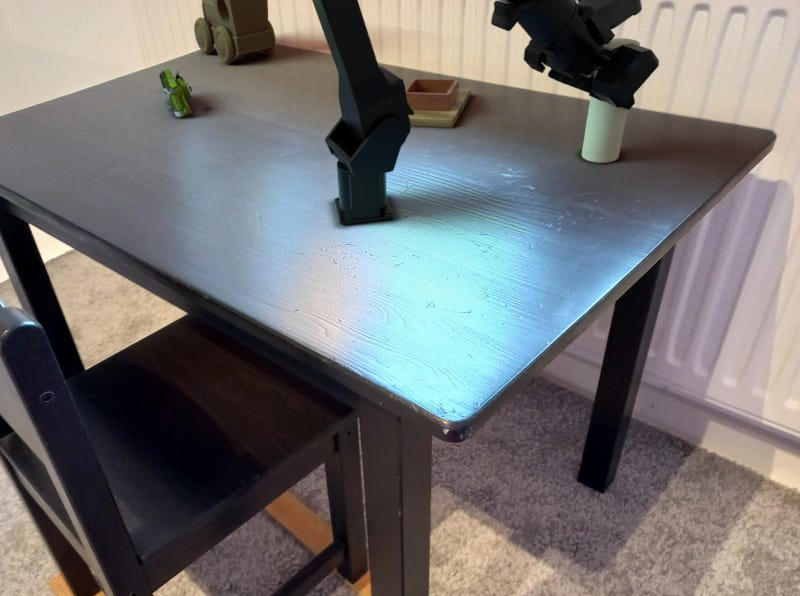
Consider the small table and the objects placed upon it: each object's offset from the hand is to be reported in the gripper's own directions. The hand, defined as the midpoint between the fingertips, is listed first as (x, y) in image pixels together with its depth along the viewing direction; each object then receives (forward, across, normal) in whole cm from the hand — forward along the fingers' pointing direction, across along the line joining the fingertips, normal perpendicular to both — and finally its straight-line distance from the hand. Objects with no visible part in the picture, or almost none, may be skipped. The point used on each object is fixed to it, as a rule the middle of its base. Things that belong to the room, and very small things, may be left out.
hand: (618, 100), depth 89 cm
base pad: (-4, +28, +14) cm, 31 cm away
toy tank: (-28, +54, +38) cm, 72 cm away
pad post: (+4, 0, +6) cm, 7 cm away
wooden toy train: (-18, +78, +28) cm, 85 cm away
